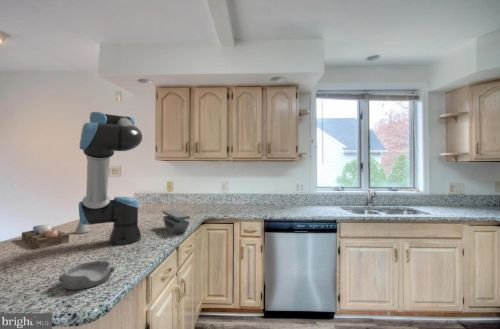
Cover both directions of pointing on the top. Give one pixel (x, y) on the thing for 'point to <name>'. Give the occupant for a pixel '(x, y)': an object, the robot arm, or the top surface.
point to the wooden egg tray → (44, 239)
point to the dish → (86, 274)
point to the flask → (82, 228)
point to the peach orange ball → (51, 233)
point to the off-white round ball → (44, 229)
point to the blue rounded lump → (36, 229)
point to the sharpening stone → (175, 221)
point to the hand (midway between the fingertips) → (96, 178)
